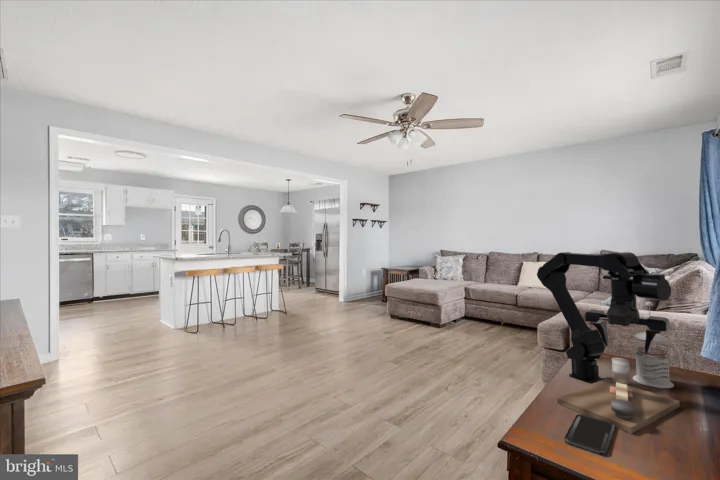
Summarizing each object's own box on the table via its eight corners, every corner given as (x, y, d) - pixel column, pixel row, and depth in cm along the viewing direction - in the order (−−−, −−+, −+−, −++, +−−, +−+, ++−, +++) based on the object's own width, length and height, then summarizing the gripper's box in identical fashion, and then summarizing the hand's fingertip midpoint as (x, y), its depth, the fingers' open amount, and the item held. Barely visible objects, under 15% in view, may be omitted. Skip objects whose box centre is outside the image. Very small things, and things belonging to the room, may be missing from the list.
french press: (626, 374, 111) (623, 298, 111) (668, 376, 108) (665, 299, 108) (642, 386, 101) (638, 304, 102) (689, 389, 98) (685, 304, 98)
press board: (557, 403, 93) (556, 394, 93) (606, 383, 104) (606, 375, 104) (631, 434, 77) (630, 423, 77) (679, 406, 89) (679, 397, 89)
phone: (563, 439, 75) (577, 413, 86) (563, 444, 75) (577, 417, 86) (606, 453, 69) (615, 423, 80) (607, 459, 69) (616, 428, 80)
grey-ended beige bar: (634, 417, 79) (632, 384, 79) (611, 412, 82) (609, 380, 82) (631, 386, 95) (630, 359, 95) (611, 383, 98) (610, 356, 98)
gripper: (577, 295, 99) (579, 348, 99) (661, 303, 85) (664, 364, 84) (589, 291, 106) (591, 340, 106) (668, 297, 92) (671, 354, 92)
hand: (625, 349), depth 97 cm, fingers open, 9 cm apart
